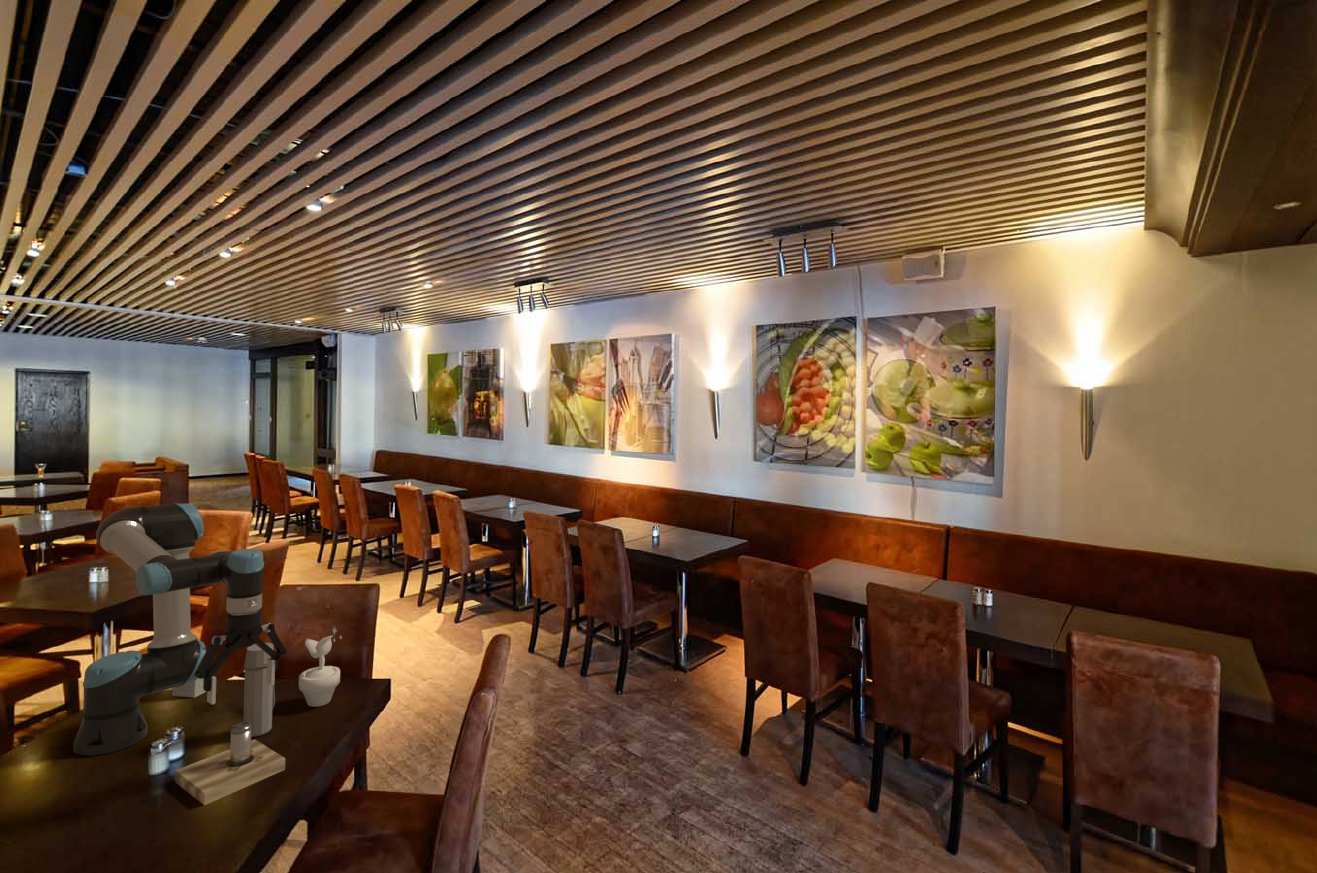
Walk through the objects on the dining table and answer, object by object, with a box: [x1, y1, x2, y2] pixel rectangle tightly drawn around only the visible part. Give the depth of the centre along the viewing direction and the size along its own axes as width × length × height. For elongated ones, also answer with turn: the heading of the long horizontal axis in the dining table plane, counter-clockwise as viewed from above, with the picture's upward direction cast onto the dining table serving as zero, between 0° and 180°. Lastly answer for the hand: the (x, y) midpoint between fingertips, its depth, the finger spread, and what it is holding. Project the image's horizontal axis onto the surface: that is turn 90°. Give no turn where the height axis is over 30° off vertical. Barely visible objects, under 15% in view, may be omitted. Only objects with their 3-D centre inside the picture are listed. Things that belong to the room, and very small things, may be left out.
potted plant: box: [298, 625, 343, 708], centre depth 193 cm, size 13×12×25 cm
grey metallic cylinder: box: [229, 721, 252, 767], centre depth 154 cm, size 4×4×12 cm
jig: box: [174, 739, 286, 806], centre depth 152 cm, size 16×18×3 cm
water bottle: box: [242, 642, 276, 738], centre depth 174 cm, size 9×8×25 cm
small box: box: [171, 678, 207, 699], centre depth 196 cm, size 8×6×13 cm
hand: (241, 692), depth 154 cm, fingers open, 13 cm apart
